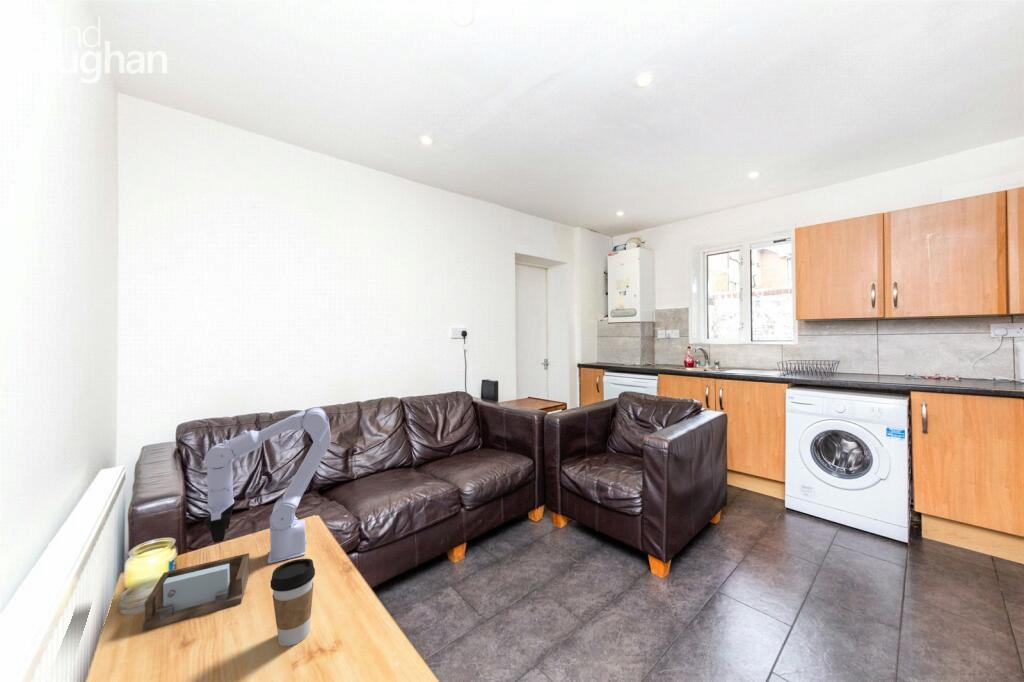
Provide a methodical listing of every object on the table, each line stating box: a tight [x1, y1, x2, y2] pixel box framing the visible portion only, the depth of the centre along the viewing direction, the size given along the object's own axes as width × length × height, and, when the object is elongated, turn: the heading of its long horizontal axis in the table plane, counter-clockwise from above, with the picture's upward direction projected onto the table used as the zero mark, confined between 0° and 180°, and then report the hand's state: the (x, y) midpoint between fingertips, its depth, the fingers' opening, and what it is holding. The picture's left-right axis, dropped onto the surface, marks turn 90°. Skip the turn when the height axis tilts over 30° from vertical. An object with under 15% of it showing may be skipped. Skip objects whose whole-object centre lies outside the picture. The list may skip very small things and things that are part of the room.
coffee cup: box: [270, 558, 316, 647], centre depth 82 cm, size 8×8×15 cm
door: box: [163, 564, 230, 611], centre depth 91 cm, size 12×3×7 cm, turn 118°
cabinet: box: [142, 552, 251, 632], centre depth 95 cm, size 18×14×6 cm
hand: (221, 535), depth 107 cm, fingers open, 7 cm apart
